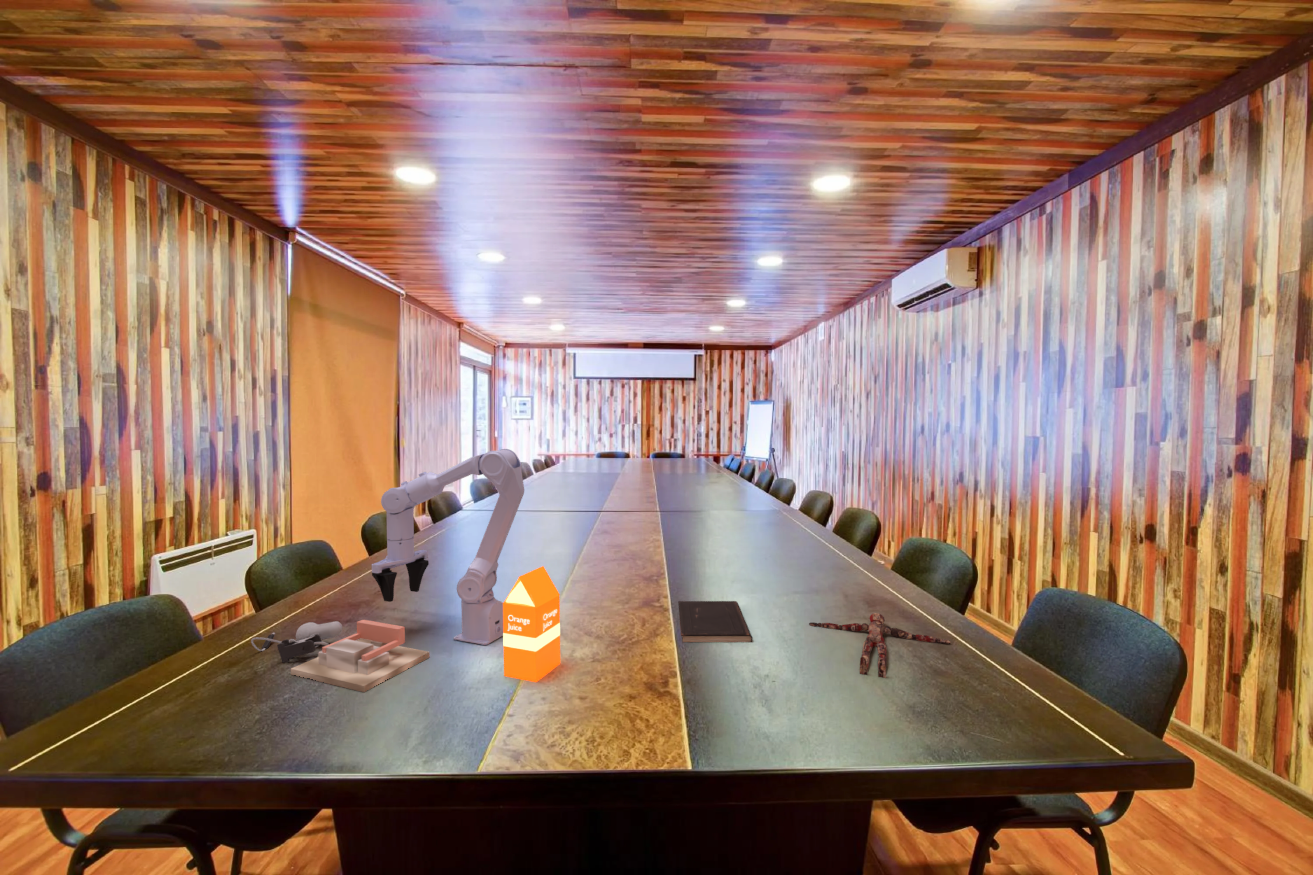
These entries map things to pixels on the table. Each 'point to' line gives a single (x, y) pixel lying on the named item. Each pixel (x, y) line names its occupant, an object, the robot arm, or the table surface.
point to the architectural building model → (358, 664)
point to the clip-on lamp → (303, 639)
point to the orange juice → (531, 627)
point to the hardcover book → (712, 622)
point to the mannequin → (877, 640)
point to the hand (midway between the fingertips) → (401, 595)
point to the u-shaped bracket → (376, 636)
